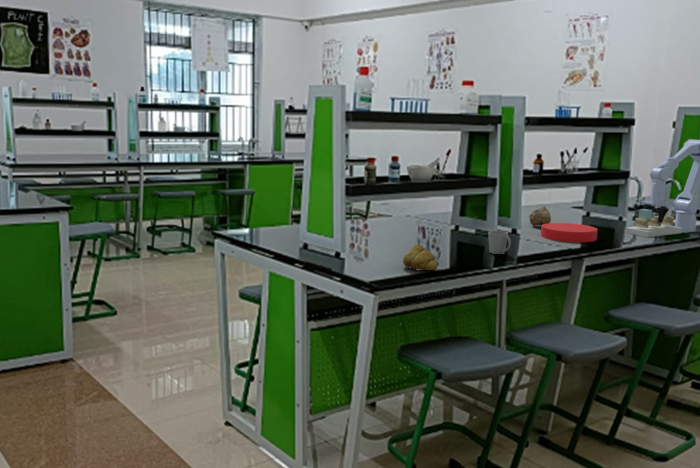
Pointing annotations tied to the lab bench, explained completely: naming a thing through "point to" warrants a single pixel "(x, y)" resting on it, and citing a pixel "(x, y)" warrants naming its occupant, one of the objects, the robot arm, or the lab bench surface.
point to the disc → (569, 232)
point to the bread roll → (420, 259)
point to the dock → (653, 230)
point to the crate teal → (645, 214)
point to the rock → (540, 217)
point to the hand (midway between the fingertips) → (654, 221)
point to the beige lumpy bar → (653, 222)
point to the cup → (498, 242)
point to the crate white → (668, 213)
